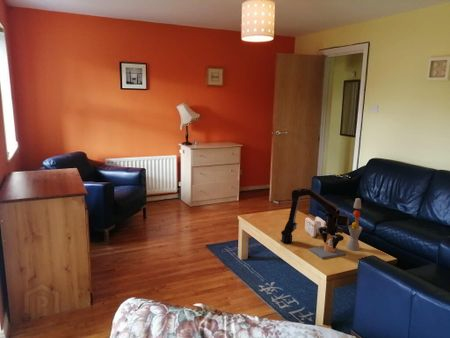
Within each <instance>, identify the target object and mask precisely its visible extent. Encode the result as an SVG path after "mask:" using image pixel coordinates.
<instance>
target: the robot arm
mask: <svg viewBox="0 0 450 338" xmlns="http://www.w3.org/2000/svg"><path fill="white" fill-rule="evenodd" d="M304 196H309V197H310V198H311V199H313V200H314V201H315V202H317V203H318V204H320V205H321V206H322V207H323V208H324V210H325V211H326V213H325V214H324V217H327V220H326V225H325V226H326V227H320V228H319V232H320V234H321V235H320V234H319V235H320V236H321V238H322V240H323V243H326V242H328V235H330V236H332V237H331V238H332V239H331V240H332V243H333V249H335V248H337V246H338V244H339V242H342V241H344V239H345V237H344V235H342V234H343V231H344V228H342V227H346V228H347V227H348V226H349V224H350V219H349V218H350V217H349V215H344V214H342V213H341V211H340V210H339V206H338V205H337V203H334V202H332V201H330V200H327V199H325V197H324V196H322V195H321V194H319V193H318V192H316V191H315V190H314V189H313V188H311V187H310V188H300V187H297V188H295V189H293V190H292V192H291V200H292V201H291V206H290V211H289V216H288V220H287V222H286V224H285V227H284V228H283V230H282V231H280V234H281V239H280V242H281V243H282V244H284V245H288V244H289V245H290V244H293V232H294V231H295V230H297V226H298V223H296V217H297V213H298V208H299V204H300V200H301V198H302V197H304Z"/></svg>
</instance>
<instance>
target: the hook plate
mask: <svg viewBox="0 0 450 338" xmlns="http://www.w3.org/2000/svg"><path fill="white" fill-rule="evenodd" d="M327 242H328V245H329V246H332V239H331V238H329V239H327ZM308 249H309V250H308V251H309V252H311V253H312V254H314V255H315V256H316V257H318V258H319V259H321V260H325V259H330V258H331V257H332V258H337V257H343V256H346V252H344V251H343V250H341V249H339V248H338V247H336V248H335V252H326V251H324V245H321V246H320V245H319V246H314V247H309V248H308Z"/></svg>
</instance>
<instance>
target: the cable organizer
mask: <svg viewBox="0 0 450 338" xmlns="http://www.w3.org/2000/svg"><path fill="white" fill-rule="evenodd" d="M326 224H327V221H325V220H324V219H322V218H321V217H319V216H315V217H314V220H312V219H311V218H310V217H305V220H304V231H305V232H306V233H307V234H308V235H309V236H310V237H312V238H316V236H317V233H318V234H319V235H320V236H321V234H320V232H319V228H320V227H327V226H325V225H326Z"/></svg>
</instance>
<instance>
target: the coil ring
mask: <svg viewBox="0 0 450 338" xmlns="http://www.w3.org/2000/svg"><path fill="white" fill-rule="evenodd" d="M323 243H324V242H323ZM323 246H324V251H326V252H335V249H333V243H332V246H329V245H328V241H327V242H326V243H324V244H323Z"/></svg>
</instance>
